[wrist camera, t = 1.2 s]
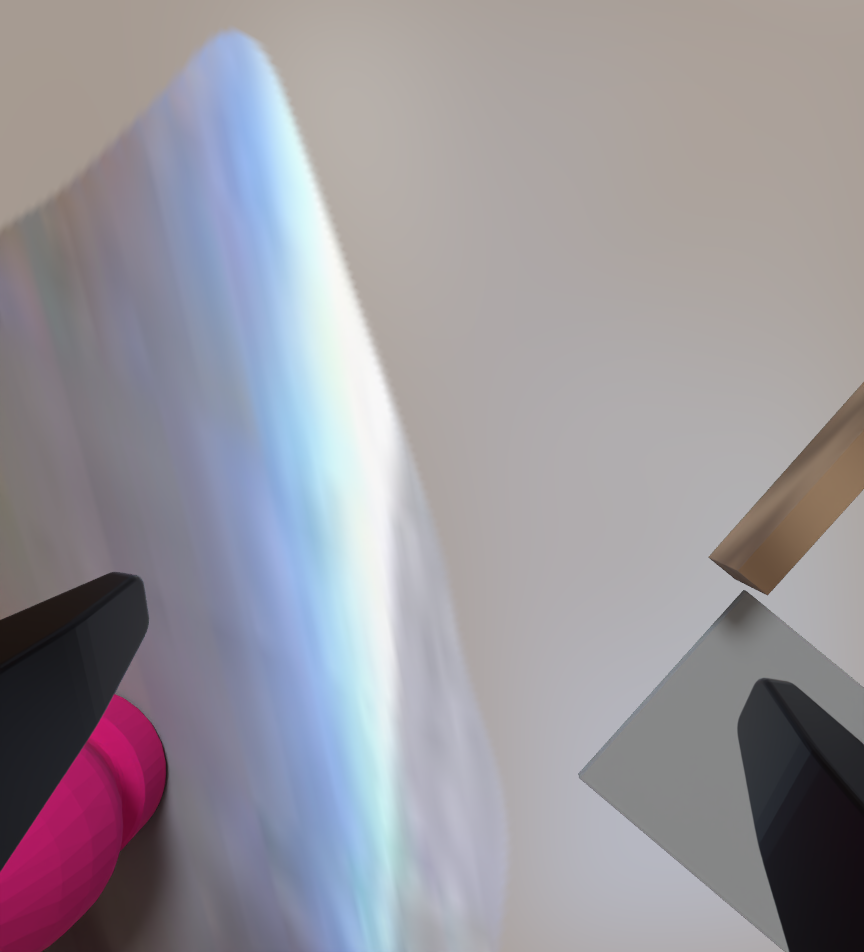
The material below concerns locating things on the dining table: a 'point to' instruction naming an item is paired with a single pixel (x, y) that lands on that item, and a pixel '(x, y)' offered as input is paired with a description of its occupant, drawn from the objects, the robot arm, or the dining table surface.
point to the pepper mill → (82, 830)
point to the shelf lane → (799, 503)
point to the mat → (715, 751)
